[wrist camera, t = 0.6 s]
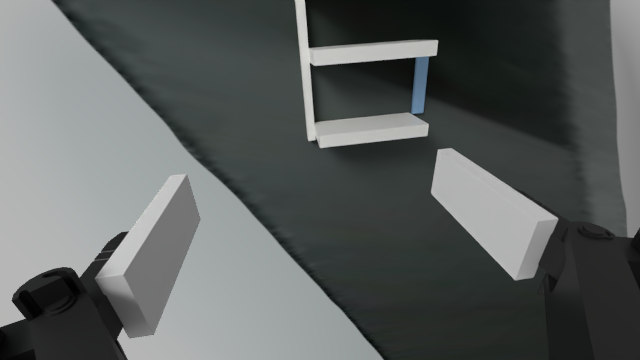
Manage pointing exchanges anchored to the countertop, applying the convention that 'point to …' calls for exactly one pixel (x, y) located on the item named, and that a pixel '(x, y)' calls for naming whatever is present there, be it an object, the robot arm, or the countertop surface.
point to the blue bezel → (419, 84)
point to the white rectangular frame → (364, 126)
